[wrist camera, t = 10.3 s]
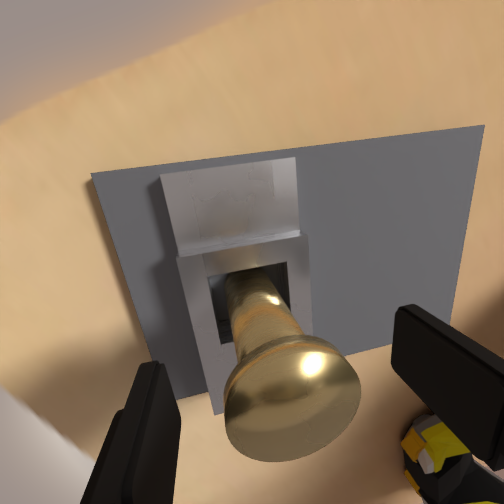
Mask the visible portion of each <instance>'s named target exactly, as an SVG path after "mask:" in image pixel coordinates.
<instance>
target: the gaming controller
mask: <svg viewBox="0 0 504 504" xmlns="http://www.w3.org/2000/svg"><path fill="white" fill-rule="evenodd" d="M401 446H402V447H403V449H404V457H405V465H406V471H405V472H404V474H405V476H406V478H407V479H408V481H409V482H410V484H411V485H412V487H413V488H414V490H415V491H416V493H417V494H418V495H419V496H420V497H421V498H422V500H423V503H424V504H504V480H503V479H502V478H500V477H499V476H497V475H495V474H494V473H493V472H491V471H490V470H488V469H486V468H485V467H484V466H482V465H481V464H479V463H478V462H477V461H475V460H474V459H473V457H472V453H471V452H470V451H469V449H468V448H467V447H466V446H465V445H464V444H463V443H462V442H461V441H460V440H459V439H458V438H457V437H456V436H455V435H454V434H453V433H452V431H451V430H450V429H449V428H448V427H447V426H446V425H445V424H444V423H443V422H442V421H441V420H440V419H439V418H438V417H437V416H436V414H435V415H432V416H431V415H429V414H425V415H420V416H419V417H418V418H416V419H415V420H414V421H413V423H412V426H411V428H410V429H409V430H408V432H407V433H406V435H405V437H404V440H403V441H402V442H401Z"/></svg>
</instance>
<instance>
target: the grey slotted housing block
mask: <svg viewBox="0 0 504 504" xmlns="http://www.w3.org/2000/svg"><path fill="white" fill-rule="evenodd" d="M160 178H161V182H162V186H163V190H164V194H165V199H166V203H167V207H168V211H169V215H170V219H171V224H172V228H173V232H174V236H175V240H176V244H177V248H178V253H177V256H176V261H177V265H178V269H179V273H180V277H181V282H182V286H183V290H184V294H185V298H186V302H187V306H188V310H189V314H190V318H191V322H192V326H193V330H194V334H195V338H196V342H197V346H198V351H199V355H200V359H201V363H202V367H203V371H204V375H205V379H206V383H207V387H208V391H209V395H210V399H211V403H212V407H213V411H214V415H218V414H222V413H224V406H223V393H224V388H225V385H226V382H227V379H228V378H229V376H230V374H231V372H232V371H233V369H234V368H235V366H236V365H237V364H238V362H237V356H236V351H235V345H234V340H233V334H232V329H231V324H230V319H226V320H222V321H218V317H217V312H216V307H215V302H214V297H213V292H212V288H211V283H210V278H209V276H213V275H219V274H224V273H229V272H234V271H239V270H245V269H250V268H255V267H260V266H265V265H270V264H276V267H277V277H278V287H279V294H280V296H281V297H282V299H283V301H284V302H285V304H286V305H287V307H288V308H289V310H290V312H291V313H292V315H293V316H294V318H295V320H296V321H297V323H298V324H299V326H300V327H301V329H302V331H303V332H304V334H305V335H311V336H313V326H312V306H311V285H310V264H309V244H308V234H306V233H304V232H303V231H301V230H300V227H299V210H298V194H297V177H296V160H295V157H291V158H283V159H276V160H268V161H260V162H252V163H245V164H237V165H229V166H221V167H214V168H206V169H198V170H190V171H183V172H175V173H167V174H160Z"/></svg>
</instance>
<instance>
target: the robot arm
mask: <svg viewBox="0 0 504 504" xmlns="http://www.w3.org/2000/svg"><path fill="white" fill-rule="evenodd" d="M391 365H392V368H393V369H394V371H395V372H396V373H397V374H398V375H399V376H400V377H401V378H402V380H403V381H404V382H405V383H406V384H407V385H408V386H409V387H410V388H411V389H412V390H413V391H414V392H415V393H416V394H417V395H418V396H419V398H420V399H421V400H422V401H423V402H424V403H425V404H426V405H427V406H428V407H429V408H430V409H431V410H432V411H433V412H434V413H435V414H436V416H437V417H438V418H439V419H440V420H441V421H442V422H443V423H444V424H445V425H446V426H447V427H448V428H449V429H450V430H451V431H452V433H453V434H454V435H455V436H456V437H457V438H458V439H459V440H460V441H461V442H462V443H463V444H464V445H465V446H466V447H467V448H468V449H469V451H470V452H471V453H472V454H473V455H474V456H475V457H477V458H478V459H479V460H482V461H484V462H485V463H486V464H487V465H488V466H489V467H490V468H491V469H492V470H493V471H497V470H501V469H504V359H502V358H501V357H499V356H497V355H496V354H494V353H493V352H491V351H489V350H488V349H486V348H485V347H483V346H481V345H480V344H478V343H477V342H475V341H473V340H472V339H470V338H469V337H467V336H466V335H464V334H462V333H461V332H459V331H458V330H456V329H454V328H453V327H451V326H450V325H448V324H446V323H445V322H443V321H442V320H440V319H438V318H437V317H435V316H434V315H432V314H431V313H429V312H427V311H426V310H424V309H423V308H421V307H419V306H418V305H416V304H409V305H405V306H400V307H399V308H398V309H397V311H396V312H395V318H394V330H393V342H392V354H391ZM180 431H181V416H180V412H179V409H178V406H177V402H176V399H175V396H174V393H173V390H172V386H171V383H170V380H169V377H168V373H167V370H166V367H165V364H164V363H161V364H160V363H159V361H158V360H156V361H151V362H147V363H142V364H140V366H139V368H138V371H137V374H136V377H135V380H134V382H133V385H132V388H131V391H130V393H129V396H128V399H127V402H126V405H125V407H124V409H122V410H118V411H117V413H116V414H115V416H114V418H113V420H112V423H111V425H110V428H109V430H108V433H107V435H106V438H105V441H104V443H103V446H102V448H101V451H100V453H99V456H98V459H97V461H96V464H95V466H94V469H93V471H92V474H91V476H90V479H89V482H88V484H87V487H86V489H85V492H84V495H83V497H82V499H81V502H80V504H173V495H174V486H175V477H176V468H177V459H178V450H179V440H180Z"/></svg>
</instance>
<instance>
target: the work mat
mask: <svg viewBox="0 0 504 504" xmlns="http://www.w3.org/2000/svg"><path fill="white" fill-rule="evenodd" d="M484 127H485V125H478V126H470V127H462V128H454V129H446V130H438V131H429V132H421V133H413V134H405V135H397V136H389V137H381V138H373V139H365V140H356V141H348V142H340V143H332V144H324V145H316V146H308V147H300V148H292V149H283V150H275V151H267V152H259V153H251V154H243V155H235V156H227V157H219V158H210V159H202V160H194V161H186V162H178V163H170V164H162V165H154V166H146V167H137V168H129V169H121V170H113V171H105V172H97V173H91V176H92V179H93V182H94V185H95V188H96V191H97V195H98V198H99V201H100V204H101V207H102V210H103V213H104V216H105V219H106V222H107V225H108V228H109V231H110V234H111V237H112V240H113V243H114V246H115V249H116V252H117V255H118V258H119V261H120V264H121V267H122V270H123V273H124V276H125V279H126V282H127V285H128V288H129V291H130V294H131V297H132V300H133V303H134V306H135V309H136V312H137V315H138V318H139V321H140V324H141V327H142V330H143V333H144V336H145V339H146V343H147V346H148V349H149V352H150V355H151V358H152V361H156V360H158V361H159V363H160V364H161V363H164V364H165V367H166V370H167V373H168V377H169V380H170V383H171V386H172V390H173V393H174V396H175V399H176V400H178V399H182V398H186V397H190V396H193V395H197V394H201V393H205V392H209V391H208V387H207V383H206V379H205V375H204V371H203V367H202V363H201V359H200V355H199V351H198V346H197V342H196V338H195V334H194V330H193V326H192V322H191V318H190V314H189V310H188V306H187V302H186V298H185V294H184V290H183V286H182V282H181V277H180V273H179V269H178V265H177V261H176V256H177V253H178V248H177V244H176V240H175V236H174V232H173V228H172V224H171V219H170V215H169V211H168V207H167V203H166V199H165V194H164V190H163V186H162V182H161V178H160V174H167V173H175V172H183V171H190V170H198V169H206V168H214V167H221V166H229V165H237V164H245V163H252V162H260V161H268V160H276V159H283V158H291V157H295V160H296V177H297V194H298V210H299V227H300V230H301V231H303V232H304V233H306V234H308V244H309V264H310V285H311V306H312V326H313V336H316V337H319V338H322V339H324V340H326V341H328V342H330V343H331V344H333V345H334V346H335V347H336V348H337V349H338V350H339V351H340V352H341V353H342V355H343V356H347V355H351V354H354V353H358V352H362V351H366V350H370V349H374V348H377V347H381V346H385V345H389V344H392V342H393V330H394V318H395V312H396V311H397V309H398V308H399V307H400V306H405V305H409V304H416V305H418V306H419V307H421V308H423V309H424V310H426V311H427V312H429V313H431V314H432V315H434V316H435V317H437V318H438V319H440V320H442V321H443V322H445V323H446V324H448V325H450V319H451V313H452V308H453V302H454V297H455V291H456V285H457V280H458V274H459V268H460V263H461V257H462V251H463V246H464V240H465V234H466V229H467V223H468V217H469V212H470V206H471V201H472V195H473V189H474V184H475V178H476V172H477V167H478V161H479V155H480V150H481V144H482V138H483V133H484ZM260 267H261V268H262V269H263V270H264V271H265V272H266V274H267V275H268V277H269V279H270V280H271V282H272V283H273V285H274V286H275V288H276V290H277V291H278V293H279V287H278V277H277V267H276V264H270V265H265V266H260ZM228 274H229V273H224V274H219V275H213V276H209V278H210V283H211V288H212V292H213V297H214V302H215V307H216V312H217V317H218V321H222V320H226V319H230V318H229V313H228V307H227V302H226V296H225V291H224V282H225V279H226V277H227V275H228Z"/></svg>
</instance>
